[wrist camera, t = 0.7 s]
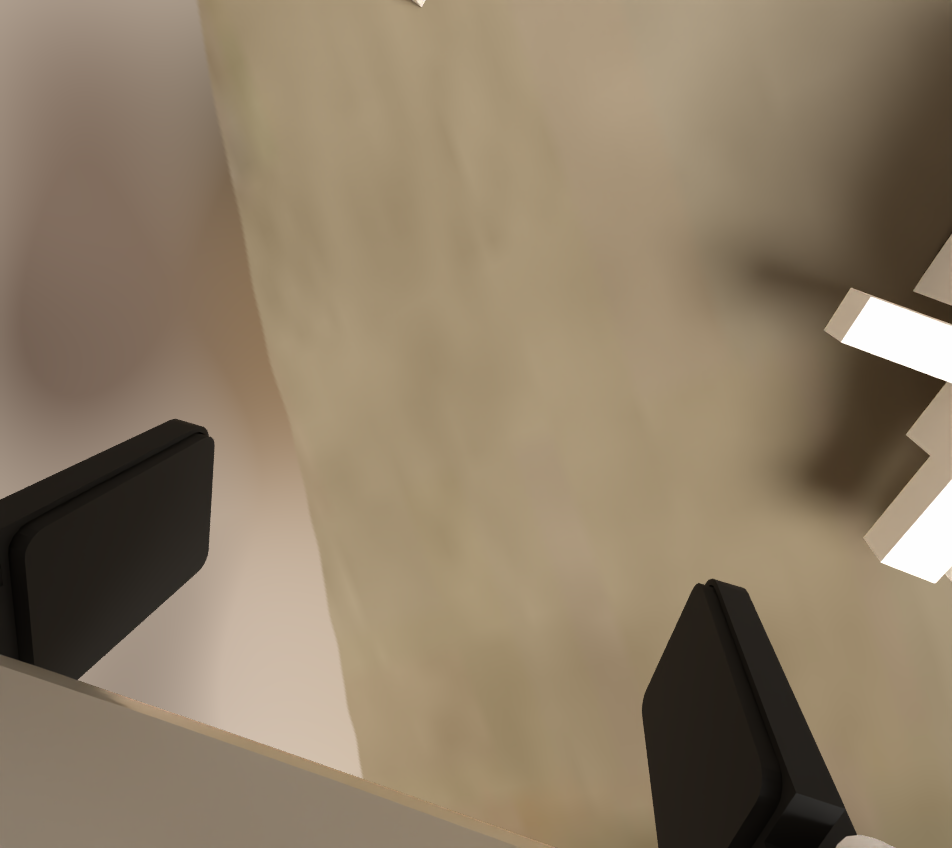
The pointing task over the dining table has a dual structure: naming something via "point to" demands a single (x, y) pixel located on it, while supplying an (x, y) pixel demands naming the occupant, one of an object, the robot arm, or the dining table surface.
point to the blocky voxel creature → (936, 431)
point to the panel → (419, 2)
